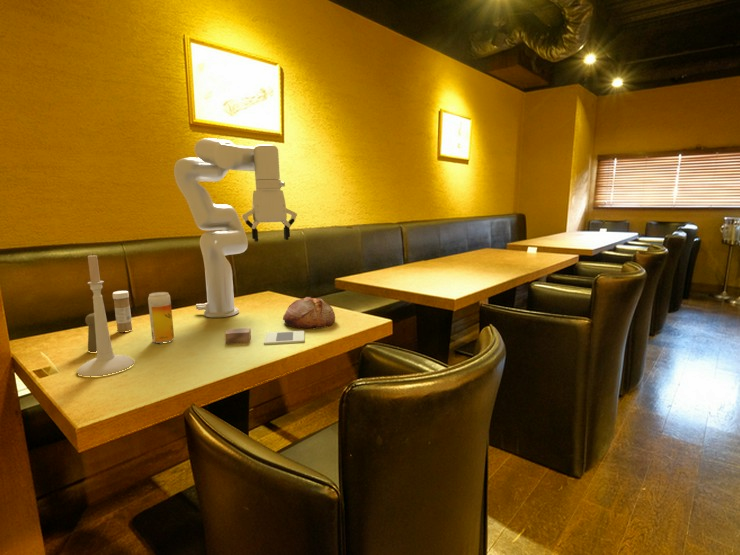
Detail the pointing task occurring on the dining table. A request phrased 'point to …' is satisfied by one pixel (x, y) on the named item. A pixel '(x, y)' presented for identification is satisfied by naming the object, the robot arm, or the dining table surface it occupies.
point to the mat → (284, 337)
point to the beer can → (161, 317)
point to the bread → (309, 314)
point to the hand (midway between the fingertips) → (271, 240)
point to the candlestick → (102, 333)
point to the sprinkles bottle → (122, 311)
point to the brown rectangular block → (238, 336)
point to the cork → (91, 332)
